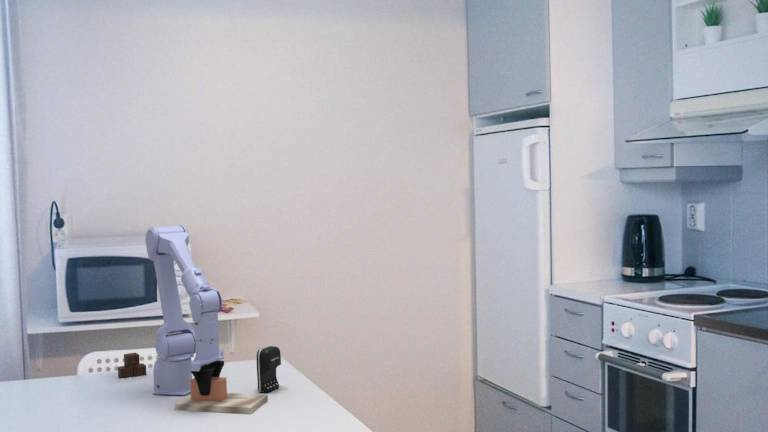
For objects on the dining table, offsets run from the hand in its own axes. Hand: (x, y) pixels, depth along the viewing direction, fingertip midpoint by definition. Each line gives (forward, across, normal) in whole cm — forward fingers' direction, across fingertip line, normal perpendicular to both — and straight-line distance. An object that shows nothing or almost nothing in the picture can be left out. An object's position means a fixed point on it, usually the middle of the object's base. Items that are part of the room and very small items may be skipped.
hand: (208, 392), depth 198 cm
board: (+3, 0, -4) cm, 5 cm away
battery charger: (+3, +15, -10) cm, 19 cm away
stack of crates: (+4, +24, +36) cm, 44 cm away
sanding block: (+2, 0, 0) cm, 2 cm away
